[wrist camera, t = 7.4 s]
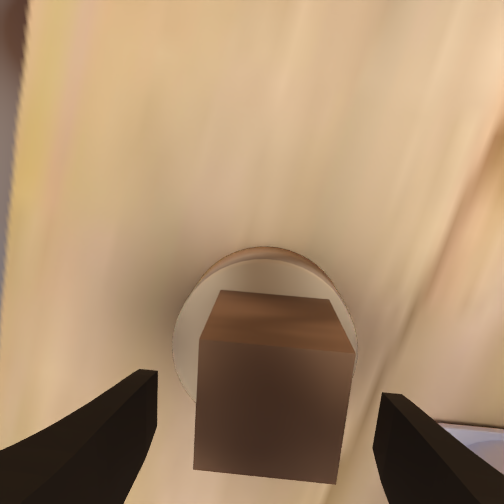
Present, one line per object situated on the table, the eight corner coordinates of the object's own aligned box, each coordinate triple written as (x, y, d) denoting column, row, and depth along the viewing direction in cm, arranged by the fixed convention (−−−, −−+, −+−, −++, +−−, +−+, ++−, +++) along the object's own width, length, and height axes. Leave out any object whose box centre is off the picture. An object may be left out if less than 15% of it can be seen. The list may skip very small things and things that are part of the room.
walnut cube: (328, 298, 14) (356, 353, 10) (316, 394, 15) (335, 484, 11) (220, 289, 14) (199, 338, 10) (215, 385, 15) (193, 469, 11)
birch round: (357, 259, 17) (378, 279, 14) (324, 398, 19) (336, 447, 15) (199, 233, 17) (181, 247, 14) (181, 374, 19) (162, 417, 16)
